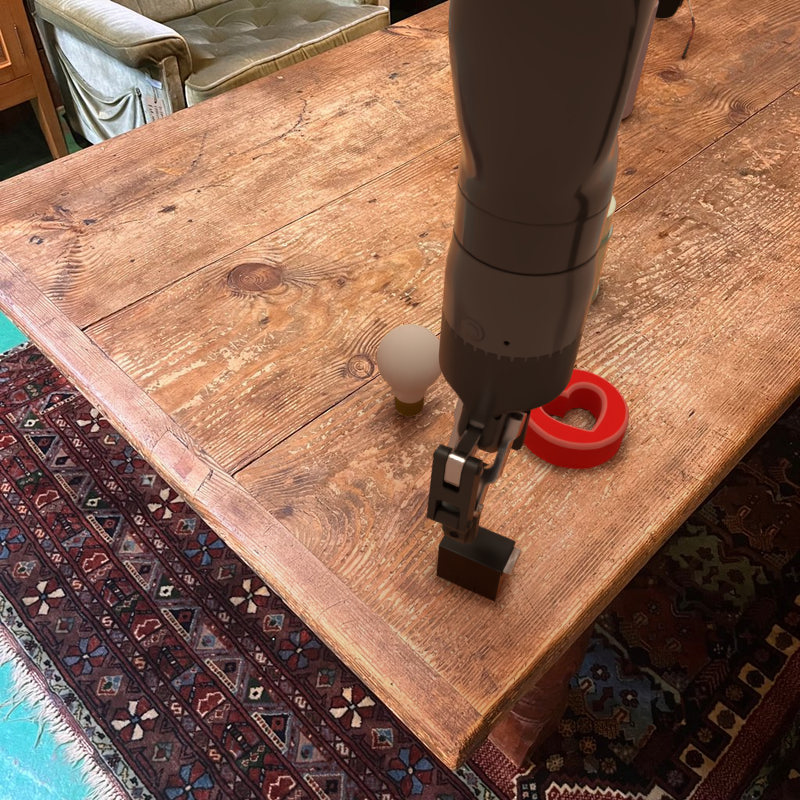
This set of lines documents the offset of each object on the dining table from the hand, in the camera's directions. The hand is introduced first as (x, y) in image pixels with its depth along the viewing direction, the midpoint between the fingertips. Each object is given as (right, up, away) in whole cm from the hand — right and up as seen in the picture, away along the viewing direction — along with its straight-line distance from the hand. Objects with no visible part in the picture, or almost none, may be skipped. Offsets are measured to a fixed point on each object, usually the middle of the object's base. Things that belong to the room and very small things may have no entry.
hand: (484, 486), depth 52 cm
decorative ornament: (+10, +3, +19) cm, 22 cm away
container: (+23, +49, +61) cm, 81 cm away
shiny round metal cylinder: (+11, +18, +33) cm, 39 cm away
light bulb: (-5, +5, +20) cm, 21 cm away
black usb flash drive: (0, -8, +8) cm, 12 cm away
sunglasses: (+36, +67, +78) cm, 109 cm away
